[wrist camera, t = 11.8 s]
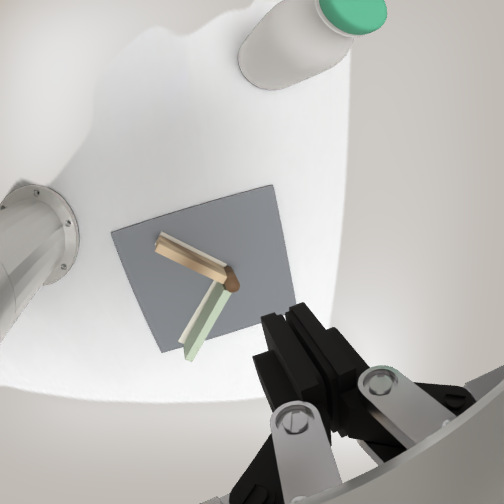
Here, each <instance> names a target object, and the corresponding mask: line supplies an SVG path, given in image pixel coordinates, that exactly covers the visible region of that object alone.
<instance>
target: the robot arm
mask: <svg viewBox="0 0 504 504" xmlns="http://www.w3.org/2000/svg"><path fill="white" fill-rule="evenodd" d="M38 190H39V193H40V194H38ZM5 207H6V208H5ZM68 220H70V221H71V223H69V222H68ZM78 247H79V233H78V226H77V223H76V219H75V216H74V214H73V212H72V210H71V208H70V207H69V206H68V204H67V203H66V201H65V200H64V199H63V198H62V197H61V196H60V195H59V194H58V193H56V192H54V191H53V190H51V189H49V188H47V187H44V186H40V185H26V186H23V187H20V188H18V189H16V190H14V191H12V192H11V193H10V194H8V195H7V196H6V197H5V198H4V200H3V201H2V202H1V204H0V344H1V342H2V341H3V339H4V338H5V336H6V334H7V333H8V331H9V330H10V329H11V327H12V326H13V324H14V323H15V321H16V320H17V318H18V317H19V316H20V314H21V313H22V311H23V310H24V308H25V307H26V306H27V304H28V303H29V302H30V300H31V299H32V297H33V296H34V295H35V293H36V292H37V291H38V289H39V288H40V287H41V285H47V284H52V283H54V282H56V281H58V280H59V279H61V278H62V277H63V276H64V275H65V274H66V273H67V272H68V271H69V269H70V268H71V266H72V265H73V263H74V261H75V258H76V256H77V252H78ZM64 264H66V266H65V265H64ZM285 317H286V320H285V319H284V317H283V315H282V314H279V315H276V313H275V312H273V313H270V314H267V315H264V316H261V317H260V318H261V323H262V327H263V331H264V335H265V339H266V342H267V346H268V350H269V351H267V352H264V353H261V354H258V355H255V356H253V361H254V364H255V367H256V370H257V374H258V377H259V379H260V382H261V385H262V388H263V390H264V393H265V395H266V398H267V400H268V402H269V404H270V407H271V409H272V412H273V414H272V416H271V419H270V427H271V434H270V436H269V437H268V439H267V440H266V442H265V443H264V445H263V446H262V448H261V449H260V451H259V452H258V454H257V455H256V457H255V458H254V459H253V461H252V462H251V464H250V465H249V467H248V468H247V470H246V471H245V472H244V474H243V475H242V476H241V478H240V479H239V481H238V482H237V483H236V485H235V486H234V487H233V489H232V491H231V493H229V494H227V495H225V496H223V497H221V498H218V497H215V498H212V499H210V500H208V501H205V502H203V503H200V504H504V365H503V366H501V367H499V368H497V369H495V370H493V371H491V372H489V373H487V374H484V375H482V376H480V377H478V378H476V379H474V380H471V381H469V382H467V383H465V385H464V387H459V386H451V385H438V384H426V383H416V382H412V381H411V380H409V379H408V378H407V377H406V376H404V375H403V374H402V373H400V372H399V371H398V370H396V369H394V368H393V367H389V366H375V367H371V368H370V367H369V366H368V365H367V364H366V363H365V361H364V360H363V359H362V358H361V357H360V356H359V354H358V353H357V352H356V351H355V350H354V348H353V347H352V346H351V345H350V344H349V343H348V341H347V340H346V339H345V338H344V337H343V335H342V334H341V333H340V332H339V331H338V330H337V329H336V328H335V327H332V328H330V329H327V330H326V329H325V328H324V327H323V326H322V324H321V323H320V322H319V321H318V319H317V318H316V317H315V316H314V314H313V313H312V312H311V311H310V309H309V308H308V307H307V306H306V304H305V303H304V302H302V303H299V304H296V305H294V306H291V307H289V311H288V312H285ZM331 431H332V432H333V433H334V432H336V431H338V433H339V434H340V436H341V437H344V436H347V435H348V437H349V438H353V439H357V442H358V443H359V445H360V446H361V447H362V448H363V449H364V450H365V452H366V453H367V454H368V455H369V456H370V457H371V458H372V459H373V460H374V461H375V462H376V463H377V464H378V465H379V466H378V467H376V468H374V469H372V470H370V471H368V472H366V473H364V474H362V475H360V476H358V477H356V478H354V479H351V480H349V481H347V482H345V483H343V484H342V480H341V478H340V474H339V472H338V468H337V465H336V462H335V459H334V456H333V453H332V450H331Z"/></svg>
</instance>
